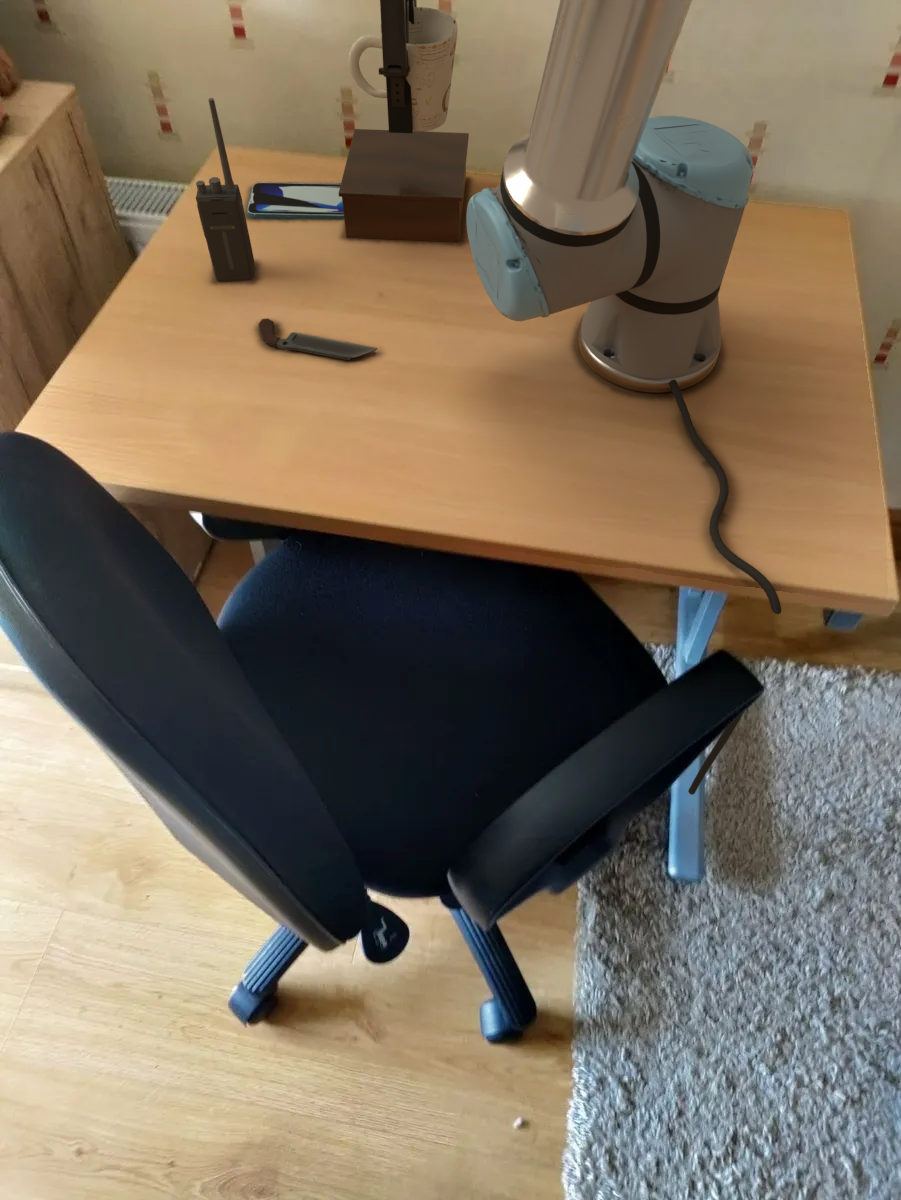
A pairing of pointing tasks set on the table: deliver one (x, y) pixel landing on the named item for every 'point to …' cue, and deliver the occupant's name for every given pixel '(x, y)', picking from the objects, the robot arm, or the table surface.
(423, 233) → the stand
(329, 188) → the smartphone
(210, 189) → the walkie-talkie
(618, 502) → the table surface
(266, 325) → the knife
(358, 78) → the mug
